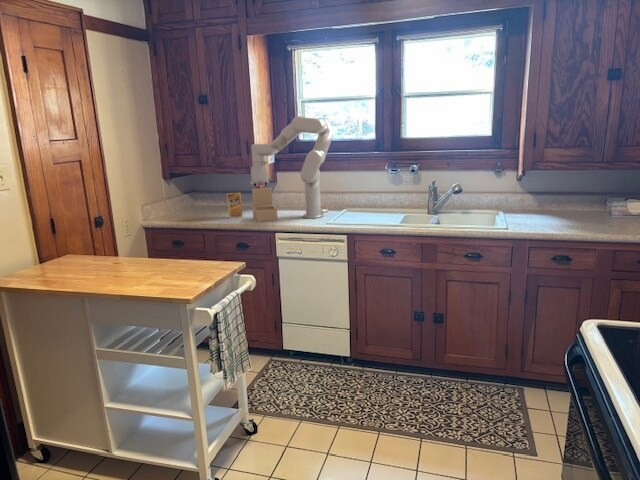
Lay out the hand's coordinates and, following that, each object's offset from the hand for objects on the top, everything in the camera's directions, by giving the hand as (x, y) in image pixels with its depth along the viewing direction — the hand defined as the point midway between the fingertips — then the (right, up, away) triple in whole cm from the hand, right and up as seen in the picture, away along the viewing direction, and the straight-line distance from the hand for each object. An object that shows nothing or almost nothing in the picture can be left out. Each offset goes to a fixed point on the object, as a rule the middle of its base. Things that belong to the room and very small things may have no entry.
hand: (260, 193), depth 308 cm
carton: (+3, -17, -6) cm, 18 cm away
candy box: (-17, -15, +5) cm, 23 cm away
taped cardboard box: (+1, -3, -4) cm, 5 cm away
